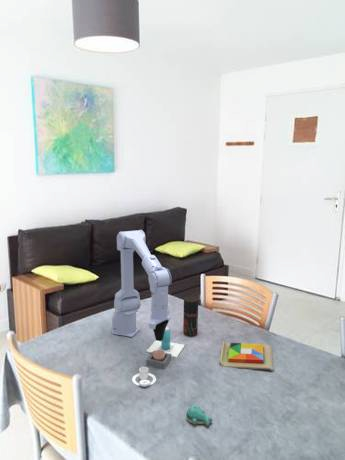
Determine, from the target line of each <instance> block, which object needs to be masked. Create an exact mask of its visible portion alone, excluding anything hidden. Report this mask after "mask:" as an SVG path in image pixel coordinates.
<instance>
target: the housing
mask: <svg viewBox="0 0 345 460" xmlns="http://www.w3.org/2000/svg"><path fill="white" fill-rule="evenodd" d="M153 352H154V351H153ZM153 352H152V353H150V354H149V356H148V357H147V358H146V360H145V365H146V366H148V367H153V368H157V369H158V368H159V369H164V370H165V369H166V368H167V367H168V365H169V364H170V362H171V361H172V357H171V355H172V354H168V353H165V359H164V360H163V361H158V360H154V359H153Z"/></svg>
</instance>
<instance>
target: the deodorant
mask: <svg viewBox="0 0 345 460" xmlns="http://www.w3.org/2000/svg"><path fill="white" fill-rule="evenodd" d="M182 322H183V323H182V324H183V328H182V329H183V330H182V334H183V336H185V337H189V338H192V337H193V338H194V337H197V336H198V334H199V333H198V330H199V324H198V323H199V298H198V297H196V296H195V297H194V296H187V297H184V298H183V321H182Z"/></svg>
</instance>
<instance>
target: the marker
mask: <svg viewBox="0 0 345 460" xmlns="http://www.w3.org/2000/svg"><path fill="white" fill-rule="evenodd" d="M170 342H171V329H170V327H169V326H166V329H165V332H164V337H163V340H162V341H161V348H162V349H163V350H168V349H170Z"/></svg>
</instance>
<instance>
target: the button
mask: <svg viewBox="0 0 345 460" xmlns="http://www.w3.org/2000/svg"><path fill="white" fill-rule="evenodd" d="M153 359H154V360H158V361H164V359H165V352H164V351H162V350H156V351H154V352H153Z"/></svg>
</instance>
